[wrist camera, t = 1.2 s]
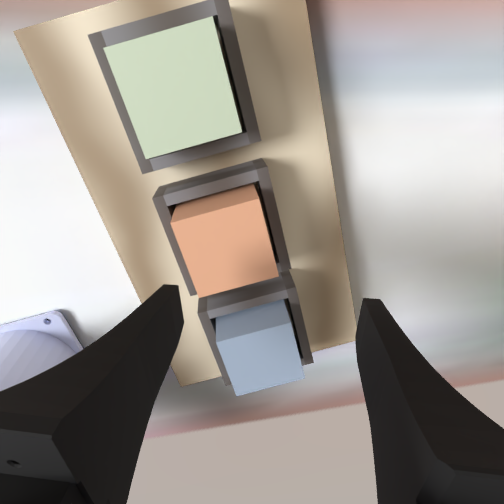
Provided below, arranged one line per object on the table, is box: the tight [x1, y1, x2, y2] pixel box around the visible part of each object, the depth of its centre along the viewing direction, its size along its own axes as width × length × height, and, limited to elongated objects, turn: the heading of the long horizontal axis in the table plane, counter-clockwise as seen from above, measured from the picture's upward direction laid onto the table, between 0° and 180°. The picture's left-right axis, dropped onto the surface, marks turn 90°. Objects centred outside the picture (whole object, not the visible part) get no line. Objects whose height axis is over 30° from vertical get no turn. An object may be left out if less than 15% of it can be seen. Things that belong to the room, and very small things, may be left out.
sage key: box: [103, 16, 242, 159], centre depth 16 cm, size 4×4×3 cm
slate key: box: [216, 299, 305, 396], centre depth 22 cm, size 4×4×3 cm
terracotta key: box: [170, 183, 279, 298], centre depth 19 cm, size 4×4×3 cm
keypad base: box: [13, 0, 357, 387], centre depth 21 cm, size 14×24×4 cm, turn 15°
